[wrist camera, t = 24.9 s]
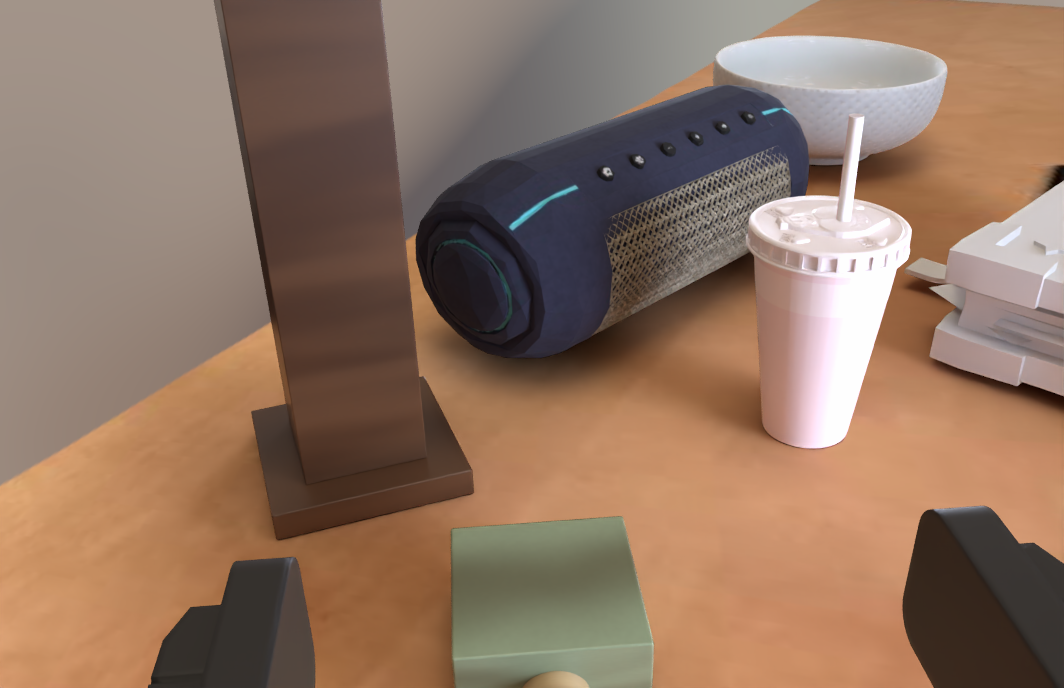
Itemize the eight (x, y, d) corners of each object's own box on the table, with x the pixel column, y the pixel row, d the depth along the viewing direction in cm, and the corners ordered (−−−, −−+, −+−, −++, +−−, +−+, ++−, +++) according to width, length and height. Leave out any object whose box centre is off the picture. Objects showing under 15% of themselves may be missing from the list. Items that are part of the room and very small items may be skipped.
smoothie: (898, 466, 42) (957, 140, 35) (743, 468, 42) (772, 144, 35) (857, 385, 47) (902, 91, 40) (721, 387, 47) (742, 95, 41)
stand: (488, 522, 39) (422, -484, 24) (283, 573, 37) (67, -499, 22) (426, 397, 47) (347, -411, 32) (255, 432, 45) (85, -417, 30)
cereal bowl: (879, 205, 67) (895, 100, 63) (668, 160, 76) (671, 67, 73) (964, 139, 78) (981, 48, 75) (771, 107, 88) (778, 24, 84)
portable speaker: (539, 415, 46) (532, 211, 41) (404, 344, 52) (384, 160, 47) (828, 249, 61) (849, 85, 56) (697, 209, 67) (705, 59, 62)
